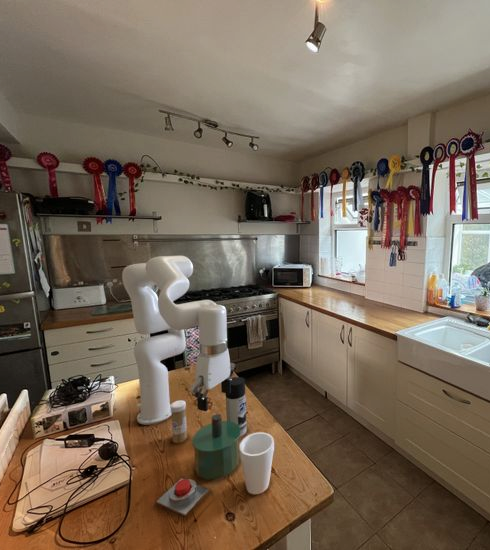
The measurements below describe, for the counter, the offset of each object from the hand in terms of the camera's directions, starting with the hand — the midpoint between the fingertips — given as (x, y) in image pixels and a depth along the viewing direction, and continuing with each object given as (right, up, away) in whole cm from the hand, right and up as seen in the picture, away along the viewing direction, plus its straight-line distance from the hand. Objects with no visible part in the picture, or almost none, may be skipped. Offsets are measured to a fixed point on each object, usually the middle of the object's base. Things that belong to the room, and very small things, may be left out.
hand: (215, 400), depth 88 cm
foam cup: (+14, -22, -5) cm, 27 cm away
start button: (-4, -20, -10) cm, 23 cm away
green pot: (0, -21, +3) cm, 21 cm away
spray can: (+1, -19, +17) cm, 26 cm away
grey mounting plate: (-5, -22, -10) cm, 25 cm away
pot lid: (0, -11, +1) cm, 12 cm away
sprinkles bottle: (-18, -19, +13) cm, 29 cm away
